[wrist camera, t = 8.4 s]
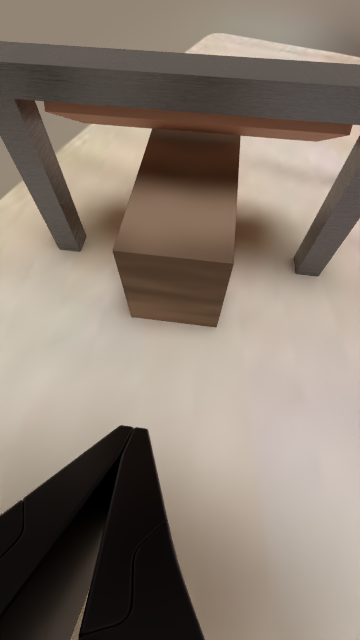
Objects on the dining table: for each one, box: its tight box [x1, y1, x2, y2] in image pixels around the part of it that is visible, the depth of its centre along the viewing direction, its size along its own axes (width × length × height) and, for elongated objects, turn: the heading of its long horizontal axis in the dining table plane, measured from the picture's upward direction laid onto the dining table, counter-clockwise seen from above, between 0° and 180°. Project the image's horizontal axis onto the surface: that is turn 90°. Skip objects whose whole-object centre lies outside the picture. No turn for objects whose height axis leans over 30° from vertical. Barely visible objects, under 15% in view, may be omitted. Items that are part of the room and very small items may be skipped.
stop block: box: [113, 129, 240, 327], centre depth 23 cm, size 14×7×8 cm, turn 172°
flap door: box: [44, 101, 353, 142], centre depth 19 cm, size 1×18×6 cm
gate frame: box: [0, 41, 360, 276], centre depth 20 cm, size 2×24×14 cm, turn 83°
